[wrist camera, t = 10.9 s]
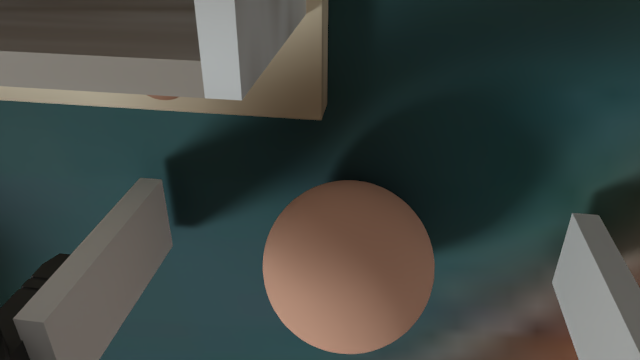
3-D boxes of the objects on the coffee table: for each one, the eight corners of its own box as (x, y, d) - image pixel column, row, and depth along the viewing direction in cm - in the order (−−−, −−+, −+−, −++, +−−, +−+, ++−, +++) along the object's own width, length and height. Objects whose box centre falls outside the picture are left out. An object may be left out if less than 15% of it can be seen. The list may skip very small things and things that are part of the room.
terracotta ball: (279, 145, 17) (235, 238, 12) (439, 156, 16) (450, 258, 12) (284, 268, 19) (248, 381, 15) (423, 282, 19) (427, 403, 14)
